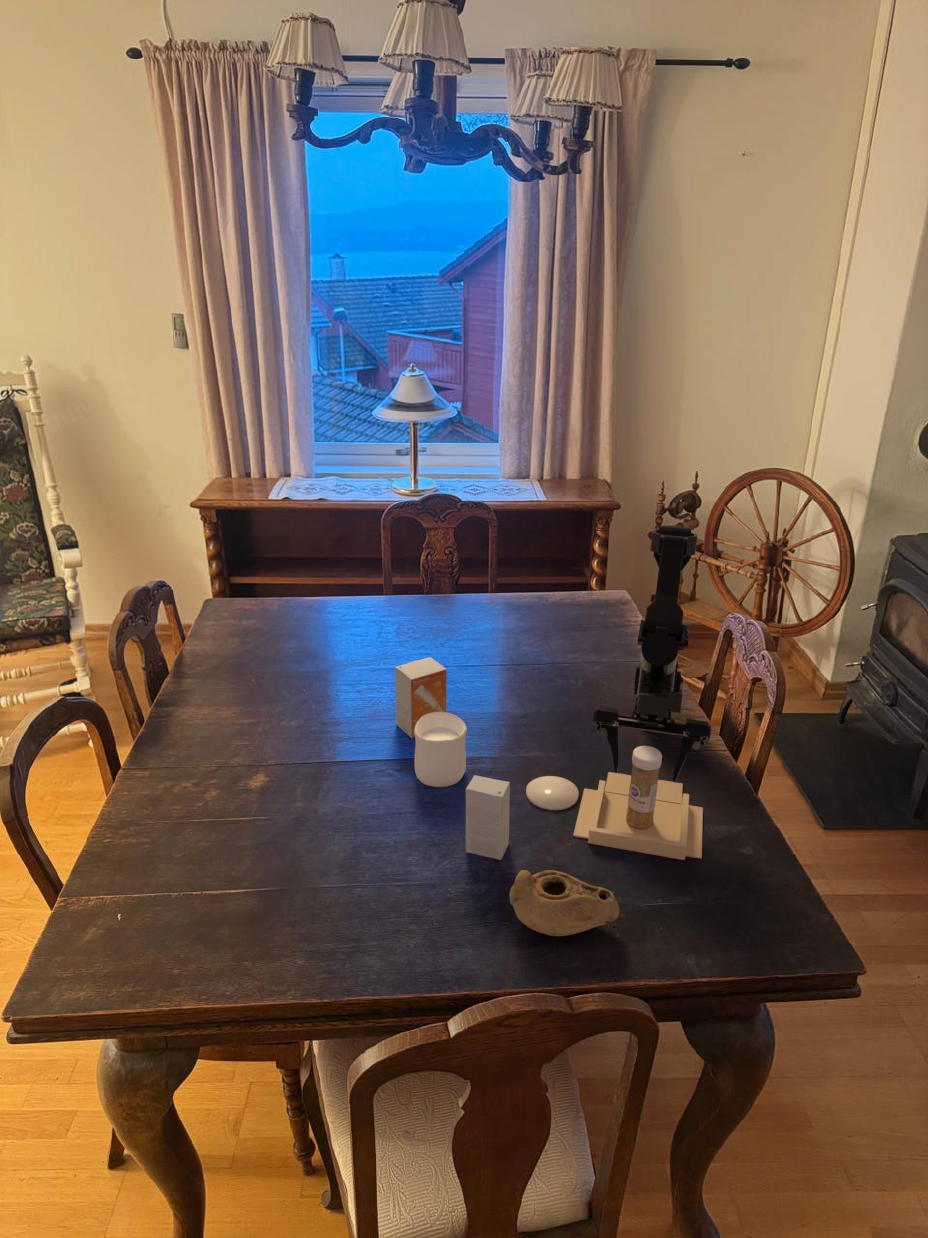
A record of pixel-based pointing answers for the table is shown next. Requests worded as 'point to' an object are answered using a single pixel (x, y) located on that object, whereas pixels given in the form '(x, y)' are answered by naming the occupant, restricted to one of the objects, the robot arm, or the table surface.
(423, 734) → the cup
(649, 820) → the sprinkles bottle
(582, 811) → the carton
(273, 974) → the table surface
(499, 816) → the skincare box
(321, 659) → the table surface
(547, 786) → the coaster
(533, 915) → the oil lamp
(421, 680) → the small box
